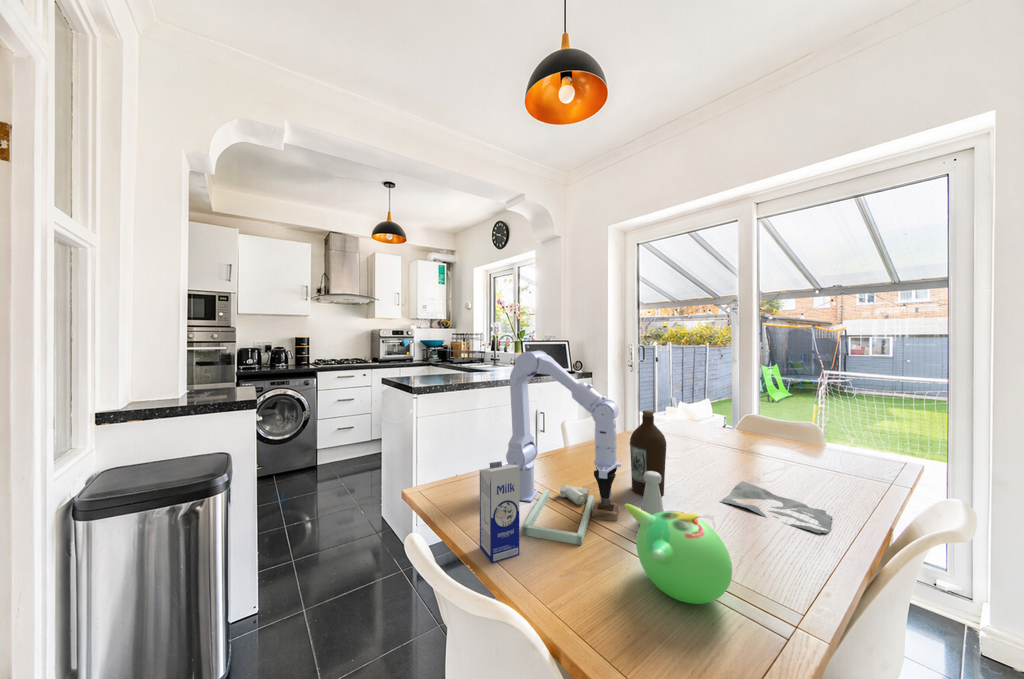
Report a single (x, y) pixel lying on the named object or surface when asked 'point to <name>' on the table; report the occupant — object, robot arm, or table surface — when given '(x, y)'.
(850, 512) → the table surface
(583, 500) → the pipe fitting
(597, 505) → the tan square frame
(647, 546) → the toy bird
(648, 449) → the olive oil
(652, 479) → the salt shaker
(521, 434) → the robot arm
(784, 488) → the table surface
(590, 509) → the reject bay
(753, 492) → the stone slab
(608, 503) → the pin
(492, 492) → the milk carton
